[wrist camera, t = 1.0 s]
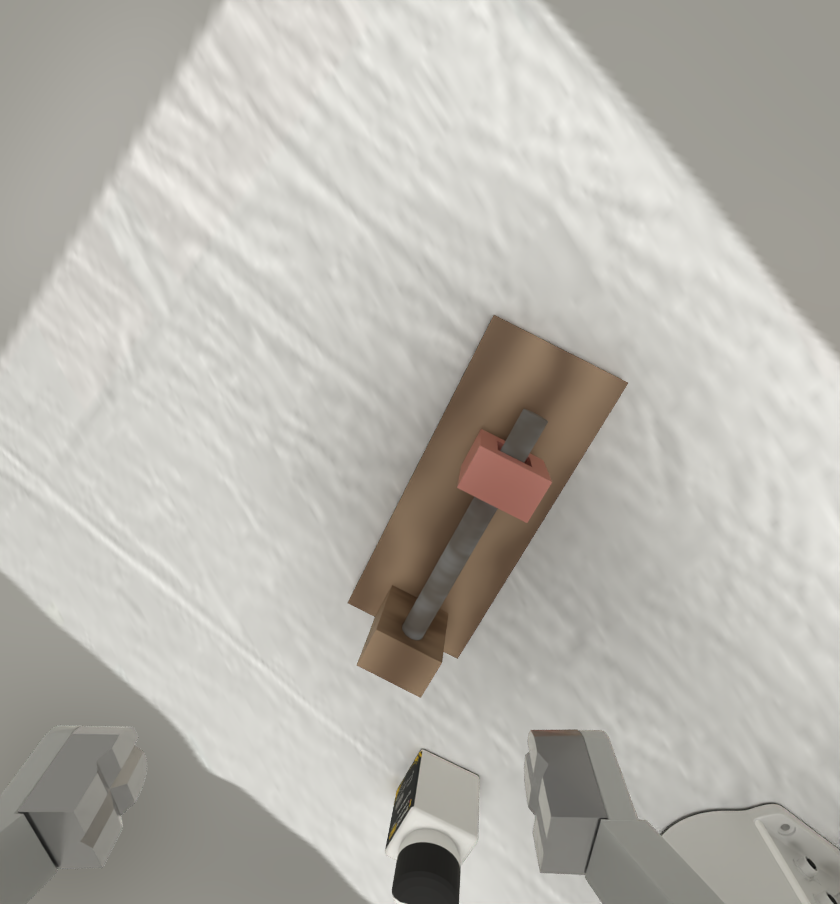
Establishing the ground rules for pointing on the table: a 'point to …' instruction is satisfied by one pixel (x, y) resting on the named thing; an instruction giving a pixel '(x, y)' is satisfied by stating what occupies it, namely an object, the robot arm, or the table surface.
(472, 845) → the medicine bottle
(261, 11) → the table surface
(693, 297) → the table surface
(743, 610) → the table surface
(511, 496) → the square nut
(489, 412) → the rod stand
